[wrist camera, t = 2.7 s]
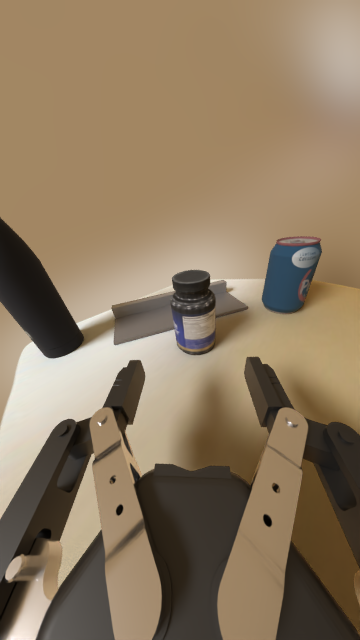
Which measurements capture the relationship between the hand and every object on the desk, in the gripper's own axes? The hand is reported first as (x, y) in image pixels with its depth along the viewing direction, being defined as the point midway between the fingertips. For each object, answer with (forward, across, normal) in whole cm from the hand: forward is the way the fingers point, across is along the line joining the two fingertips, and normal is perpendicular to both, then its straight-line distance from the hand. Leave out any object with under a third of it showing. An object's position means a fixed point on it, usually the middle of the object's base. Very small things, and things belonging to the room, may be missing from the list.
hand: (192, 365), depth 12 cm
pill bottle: (+11, 0, +8) cm, 14 cm away
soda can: (+21, -17, +8) cm, 28 cm away
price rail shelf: (+20, +3, +8) cm, 21 cm away
